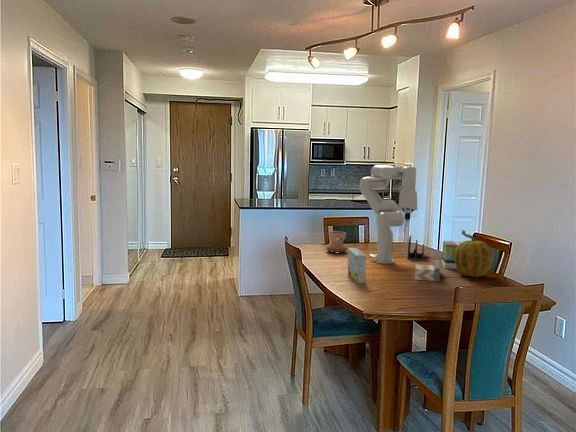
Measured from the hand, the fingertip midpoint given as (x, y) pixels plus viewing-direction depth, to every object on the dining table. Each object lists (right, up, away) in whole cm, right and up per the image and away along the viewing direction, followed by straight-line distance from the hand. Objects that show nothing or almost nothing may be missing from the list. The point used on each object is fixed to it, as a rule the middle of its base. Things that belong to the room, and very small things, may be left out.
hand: (407, 220), depth 274 cm
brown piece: (-35, -23, +56) cm, 70 cm away
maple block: (+5, -31, -16) cm, 36 cm away
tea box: (+30, -28, +13) cm, 43 cm away
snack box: (-33, -32, -20) cm, 50 cm away
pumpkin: (+33, -31, -11) cm, 47 cm away
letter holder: (+16, -25, +40) cm, 50 cm away
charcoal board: (+12, -31, -14) cm, 36 cm away
